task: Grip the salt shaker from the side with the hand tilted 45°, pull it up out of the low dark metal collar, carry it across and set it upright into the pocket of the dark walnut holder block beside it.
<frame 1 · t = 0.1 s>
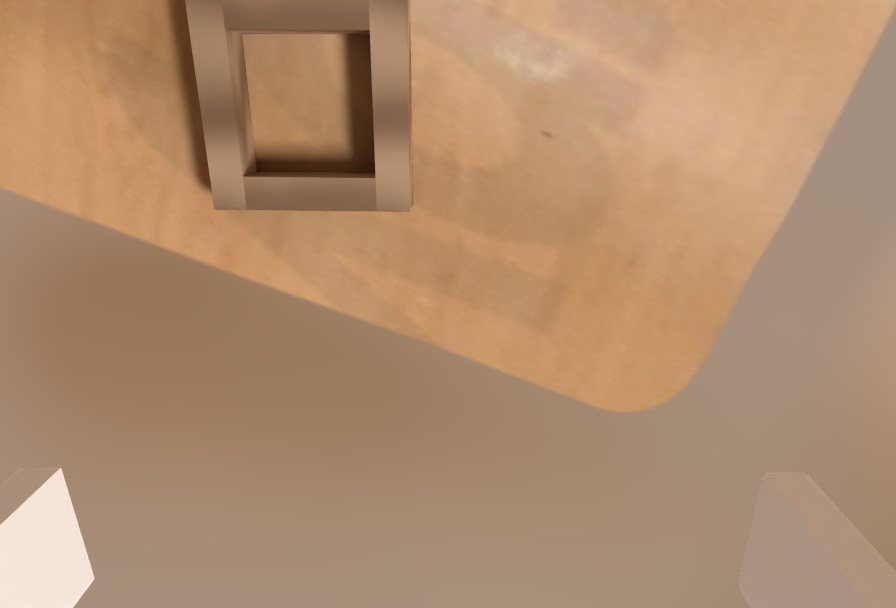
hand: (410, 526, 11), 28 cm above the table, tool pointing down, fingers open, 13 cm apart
walnut holder block: (314, 105, 35), on the table
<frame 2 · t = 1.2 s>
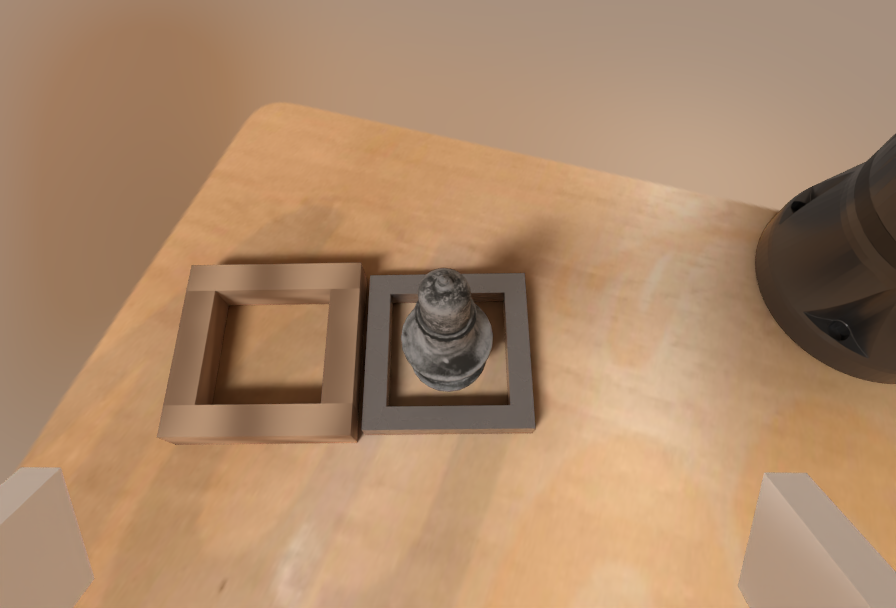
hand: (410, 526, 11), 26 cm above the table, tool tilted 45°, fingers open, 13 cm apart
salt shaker: (448, 355, 39), resting in metal collar
walnut holder block: (276, 356, 39), on the table
metal collar: (448, 354, 39), on the table
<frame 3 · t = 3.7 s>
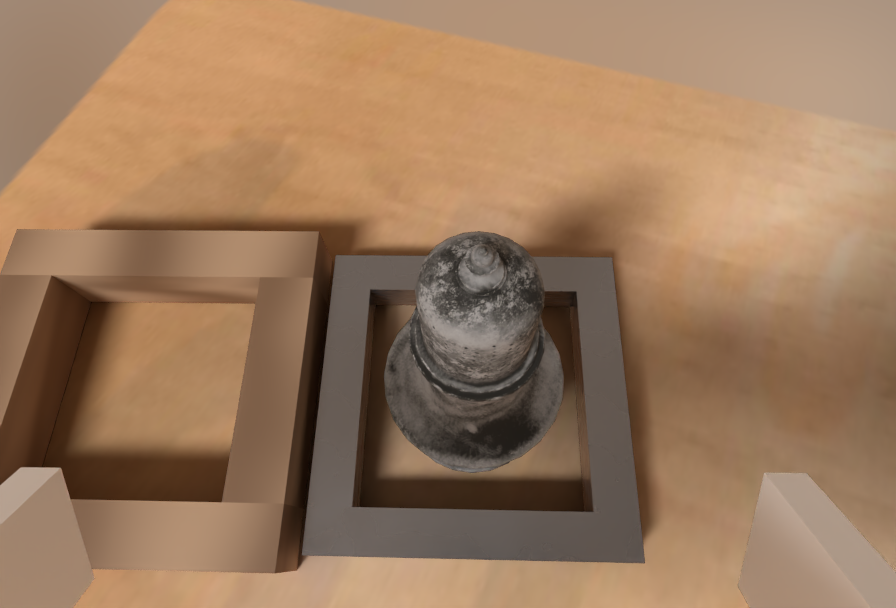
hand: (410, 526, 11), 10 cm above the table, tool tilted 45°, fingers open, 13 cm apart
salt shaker: (471, 402, 22), resting in metal collar
walnut holder block: (163, 396, 22), on the table
metal collar: (471, 401, 22), on the table
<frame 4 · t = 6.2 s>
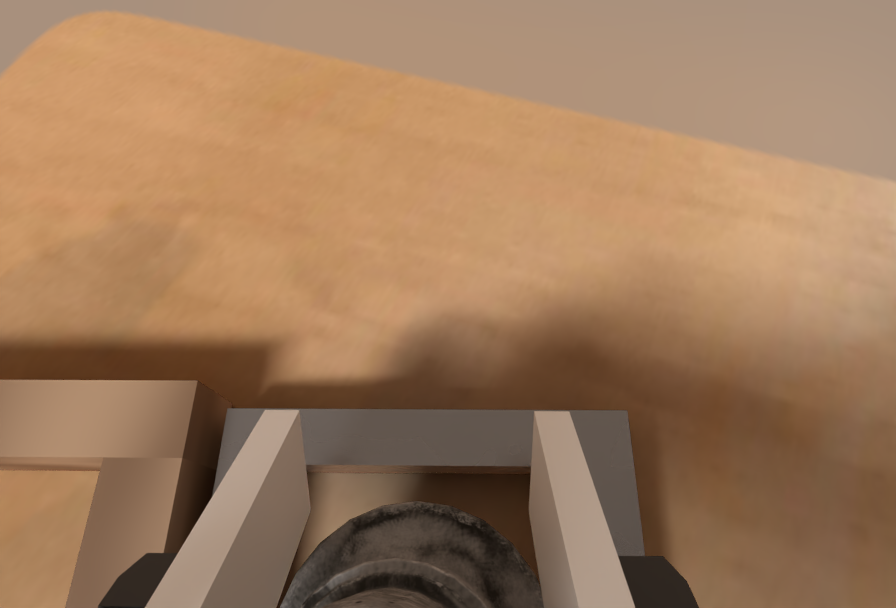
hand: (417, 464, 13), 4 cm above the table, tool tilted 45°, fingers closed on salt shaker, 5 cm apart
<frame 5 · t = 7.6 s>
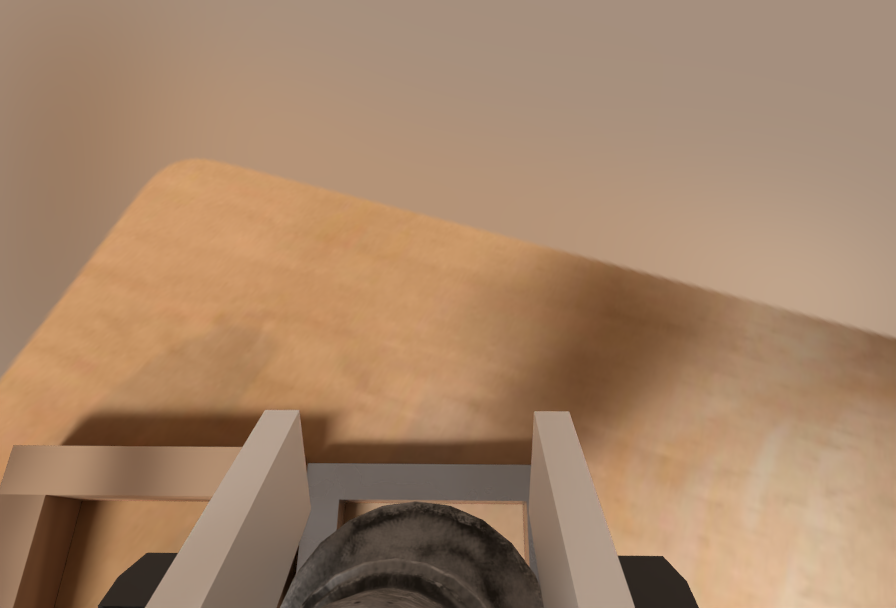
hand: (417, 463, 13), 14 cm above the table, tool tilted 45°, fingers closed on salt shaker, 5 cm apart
walnut holder block: (149, 600, 24), on the table
metal collar: (432, 603, 24), on the table
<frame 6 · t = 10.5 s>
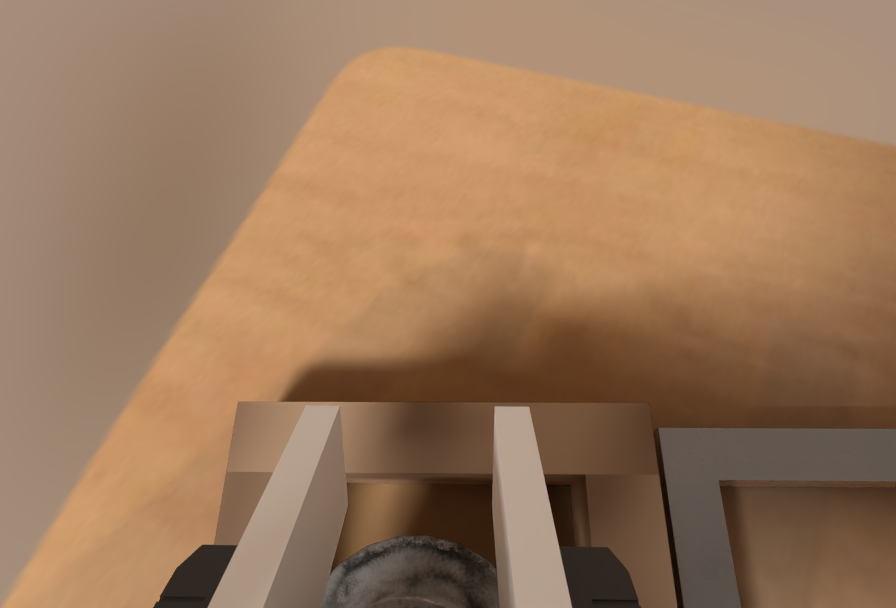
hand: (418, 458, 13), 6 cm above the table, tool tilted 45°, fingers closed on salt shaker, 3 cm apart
when the fingers open (6 cm above the table, at t = 10.6 s): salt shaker stays where it is, resting in walnut holder block.
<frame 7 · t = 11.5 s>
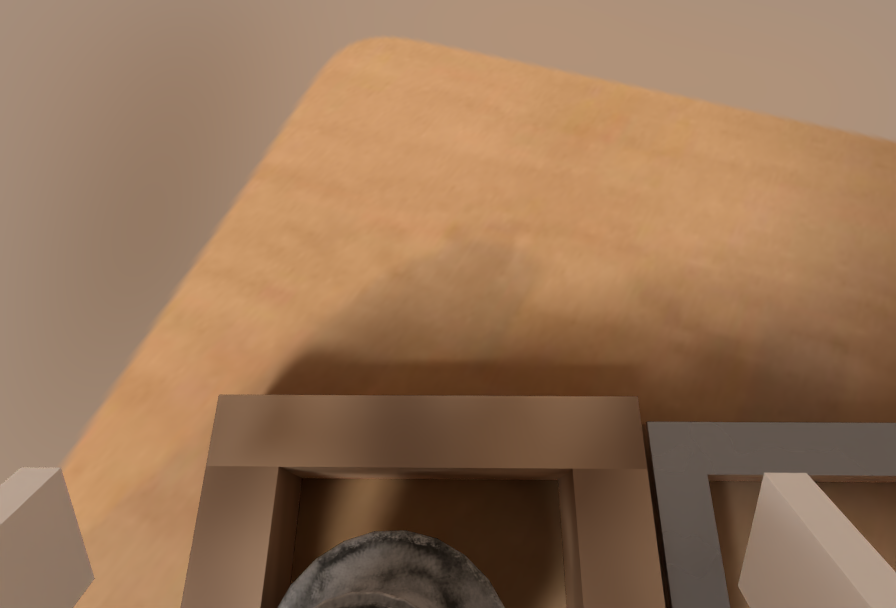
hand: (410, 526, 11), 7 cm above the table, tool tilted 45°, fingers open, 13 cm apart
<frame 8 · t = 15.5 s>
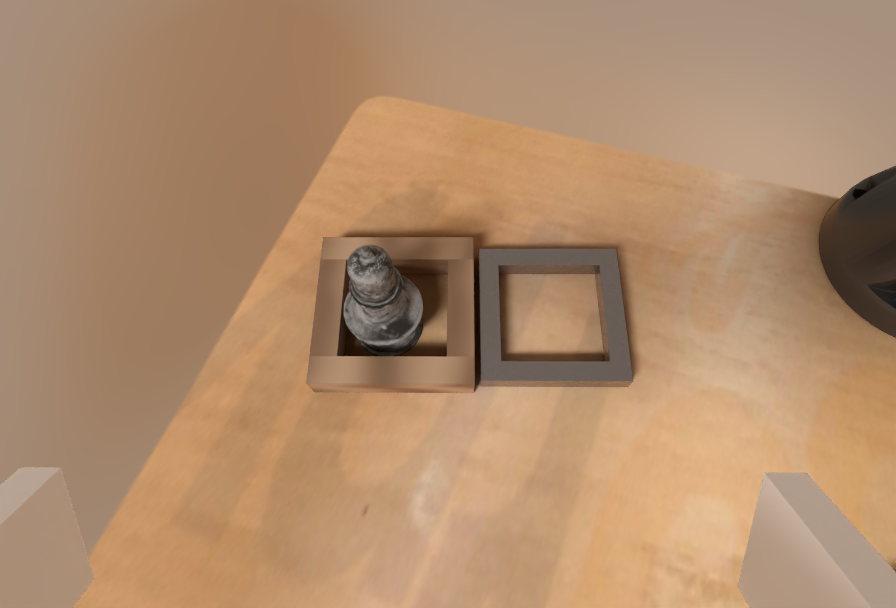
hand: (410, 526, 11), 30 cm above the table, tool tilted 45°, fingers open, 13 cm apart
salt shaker: (389, 326, 45), resting in walnut holder block
walnut holder block: (397, 318, 45), on the table
metal collar: (549, 318, 45), on the table
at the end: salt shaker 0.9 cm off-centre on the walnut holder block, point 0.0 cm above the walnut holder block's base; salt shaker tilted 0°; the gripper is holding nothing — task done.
